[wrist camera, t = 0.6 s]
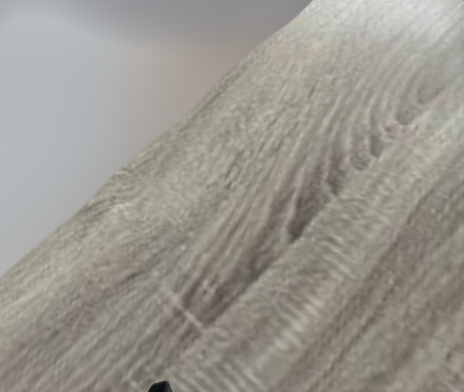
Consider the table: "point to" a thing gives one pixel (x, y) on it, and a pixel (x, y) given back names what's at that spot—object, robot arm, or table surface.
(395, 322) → the table surface
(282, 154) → the table surface
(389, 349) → the table surface
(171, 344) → the table surface
